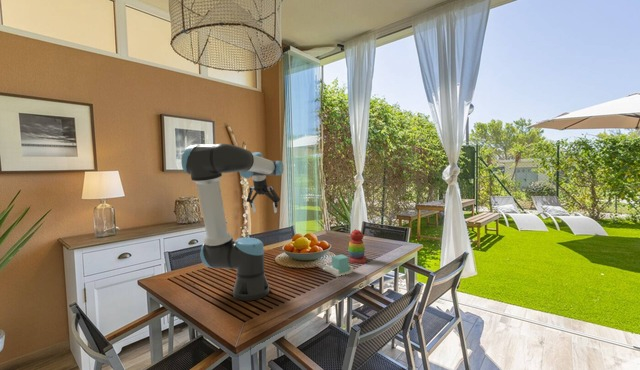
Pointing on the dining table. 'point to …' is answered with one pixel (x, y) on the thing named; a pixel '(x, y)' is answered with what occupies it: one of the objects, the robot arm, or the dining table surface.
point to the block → (340, 263)
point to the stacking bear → (356, 248)
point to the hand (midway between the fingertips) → (265, 212)
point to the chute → (334, 271)
